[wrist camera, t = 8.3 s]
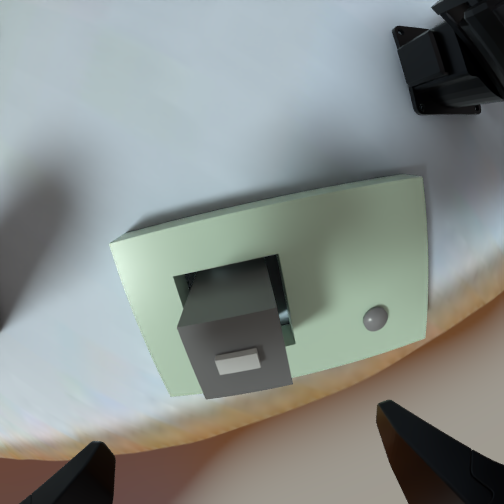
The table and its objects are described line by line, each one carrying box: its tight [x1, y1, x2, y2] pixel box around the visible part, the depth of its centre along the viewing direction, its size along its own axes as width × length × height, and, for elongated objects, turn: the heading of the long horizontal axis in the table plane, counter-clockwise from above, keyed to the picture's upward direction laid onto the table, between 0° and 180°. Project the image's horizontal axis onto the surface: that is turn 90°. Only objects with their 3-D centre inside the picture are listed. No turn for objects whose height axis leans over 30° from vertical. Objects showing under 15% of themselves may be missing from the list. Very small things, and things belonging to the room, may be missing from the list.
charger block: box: [177, 257, 293, 399], centre depth 16 cm, size 4×4×7 cm
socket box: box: [109, 174, 428, 397], centre depth 18 cm, size 18×11×3 cm, turn 102°
